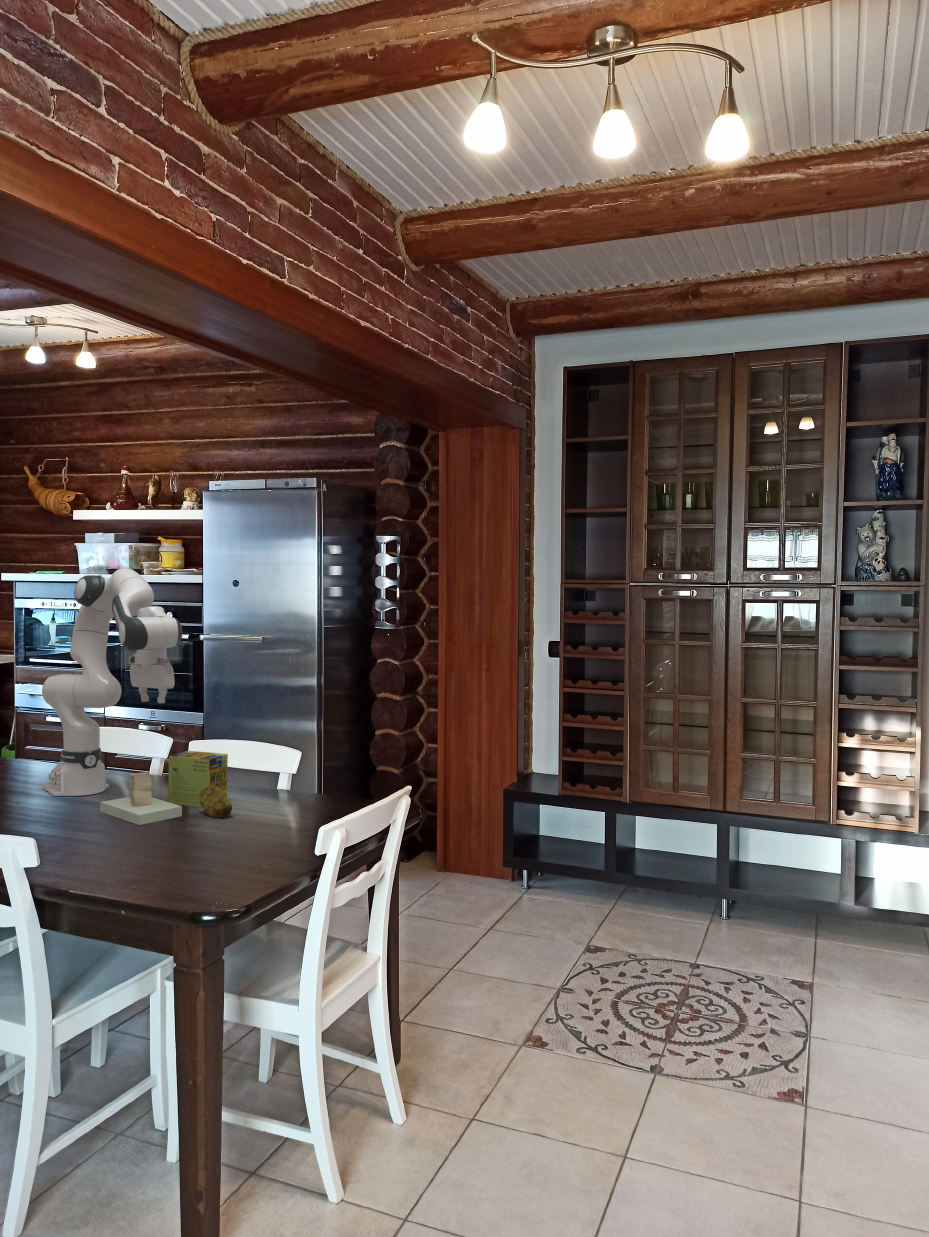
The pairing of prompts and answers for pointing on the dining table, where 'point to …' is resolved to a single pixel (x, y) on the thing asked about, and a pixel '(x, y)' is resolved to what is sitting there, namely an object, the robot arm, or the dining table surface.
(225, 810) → the potato
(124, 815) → the green board
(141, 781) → the birch block
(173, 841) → the dining table surface
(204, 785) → the protein box
